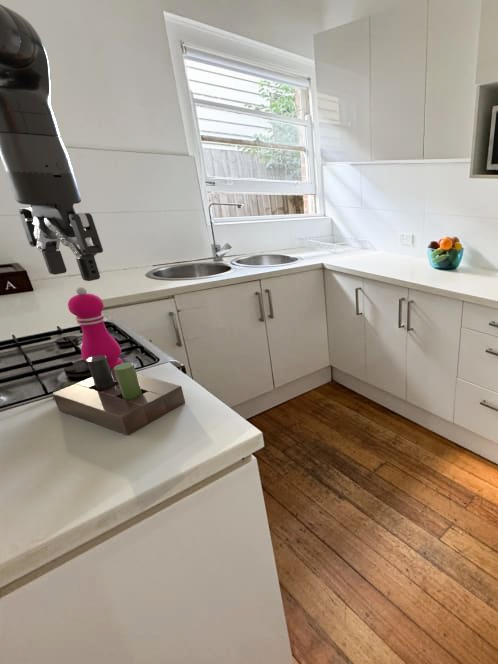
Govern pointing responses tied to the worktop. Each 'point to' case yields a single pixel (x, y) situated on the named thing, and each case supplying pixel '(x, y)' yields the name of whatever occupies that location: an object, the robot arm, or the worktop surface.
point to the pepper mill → (94, 327)
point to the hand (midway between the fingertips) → (75, 276)
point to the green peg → (128, 381)
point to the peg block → (119, 403)
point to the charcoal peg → (100, 372)
